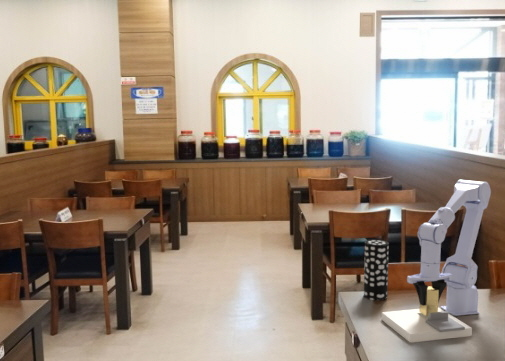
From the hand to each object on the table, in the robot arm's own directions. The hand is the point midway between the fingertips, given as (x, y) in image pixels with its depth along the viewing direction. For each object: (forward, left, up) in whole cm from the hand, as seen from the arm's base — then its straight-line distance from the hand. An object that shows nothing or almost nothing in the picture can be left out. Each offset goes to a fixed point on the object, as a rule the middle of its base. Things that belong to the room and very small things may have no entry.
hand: (428, 303), depth 168 cm
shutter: (0, +9, -4) cm, 10 cm away
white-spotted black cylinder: (+5, -27, -6) cm, 28 cm away
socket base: (+3, +3, -6) cm, 8 cm away
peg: (0, 0, -3) cm, 3 cm away
